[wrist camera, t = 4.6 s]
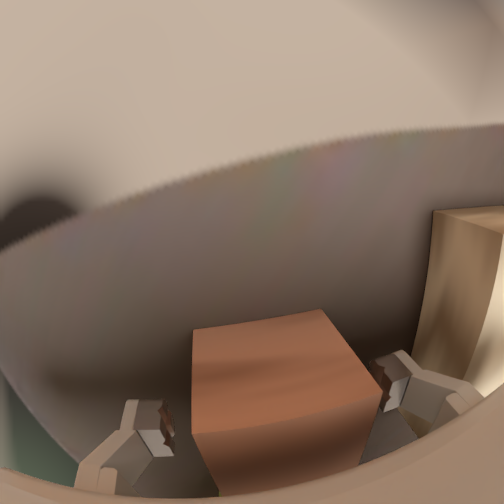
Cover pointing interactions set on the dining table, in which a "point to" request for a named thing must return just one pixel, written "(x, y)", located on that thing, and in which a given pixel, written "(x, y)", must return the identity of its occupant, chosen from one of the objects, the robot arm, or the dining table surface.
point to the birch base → (463, 302)
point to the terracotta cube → (279, 402)
